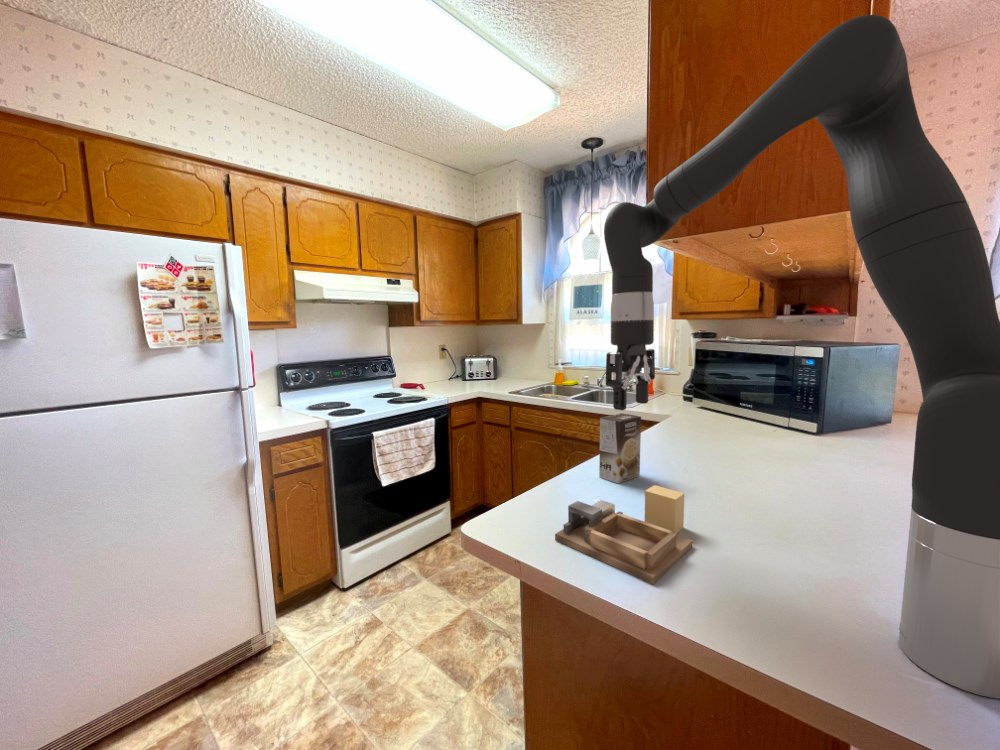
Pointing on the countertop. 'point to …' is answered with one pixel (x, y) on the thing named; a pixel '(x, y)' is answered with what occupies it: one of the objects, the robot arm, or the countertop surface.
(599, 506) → the light grey small block
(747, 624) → the countertop surface
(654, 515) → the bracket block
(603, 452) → the coffee box
